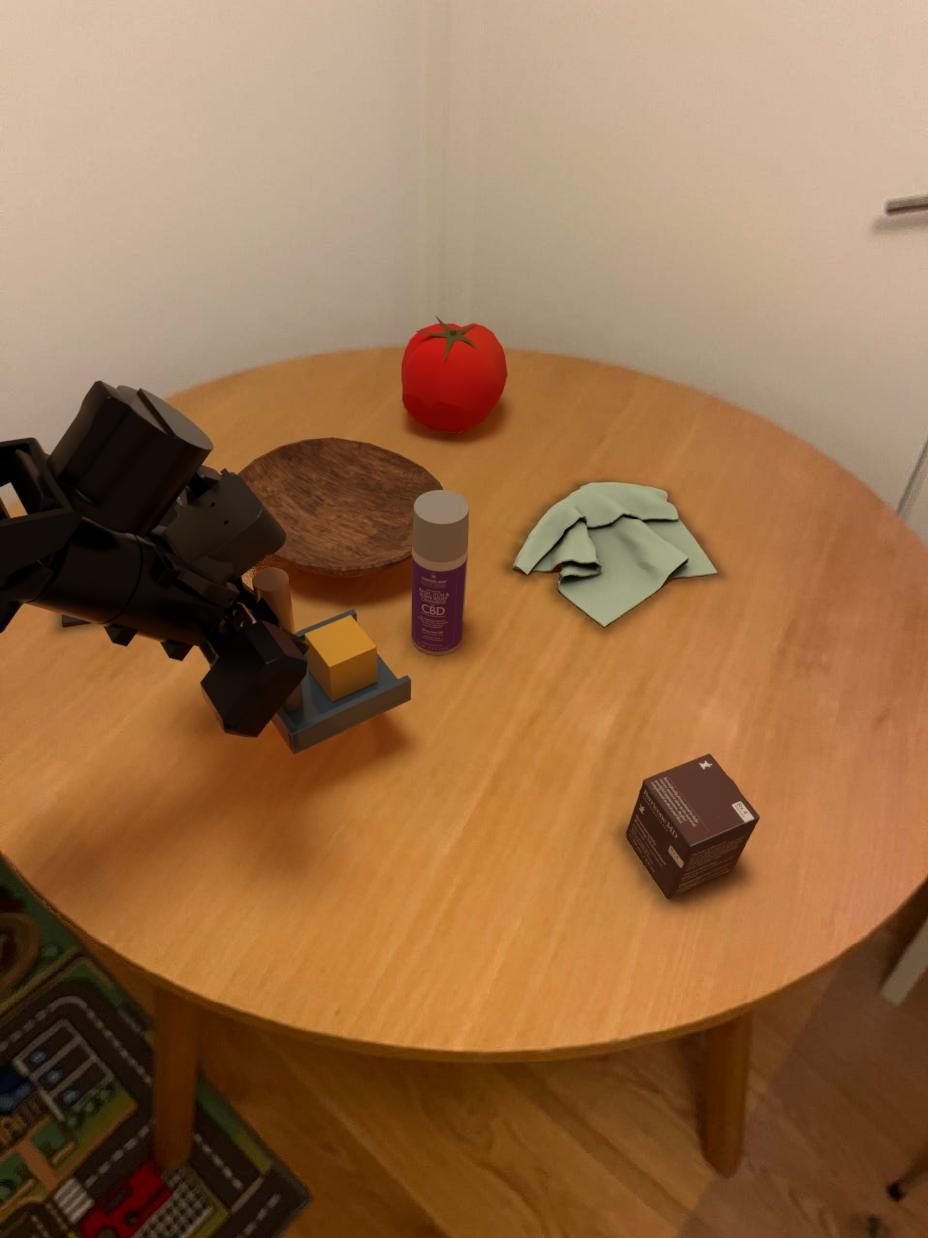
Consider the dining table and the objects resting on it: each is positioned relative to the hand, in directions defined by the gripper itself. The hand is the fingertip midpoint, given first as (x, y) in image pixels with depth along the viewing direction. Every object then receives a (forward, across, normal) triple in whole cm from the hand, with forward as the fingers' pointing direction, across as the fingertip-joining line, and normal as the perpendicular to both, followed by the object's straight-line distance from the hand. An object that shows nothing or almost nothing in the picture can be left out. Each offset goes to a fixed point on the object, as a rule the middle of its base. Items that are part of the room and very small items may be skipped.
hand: (296, 638), depth 66 cm
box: (+22, -24, -4) cm, 33 cm away
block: (+7, 0, +2) cm, 7 cm away
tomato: (+35, +35, -17) cm, 52 cm away
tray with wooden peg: (+6, 0, +3) cm, 7 cm away
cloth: (+35, +6, -17) cm, 39 cm away
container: (+20, +5, -2) cm, 20 cm away
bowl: (+19, +22, -2) cm, 29 cm away
